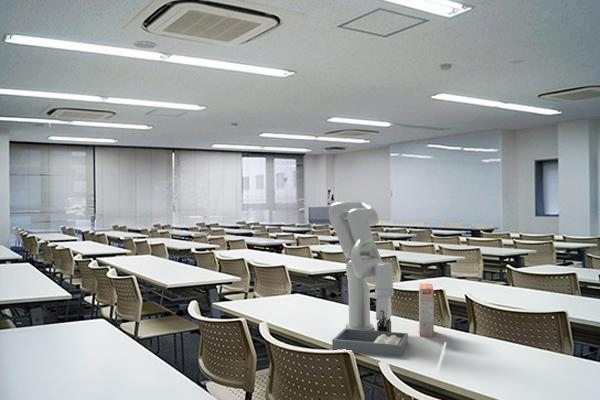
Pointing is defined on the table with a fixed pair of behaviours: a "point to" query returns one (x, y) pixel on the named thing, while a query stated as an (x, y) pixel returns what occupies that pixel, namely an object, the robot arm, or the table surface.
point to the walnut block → (388, 324)
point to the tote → (369, 342)
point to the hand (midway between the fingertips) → (385, 333)
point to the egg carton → (388, 339)
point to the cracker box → (426, 310)
